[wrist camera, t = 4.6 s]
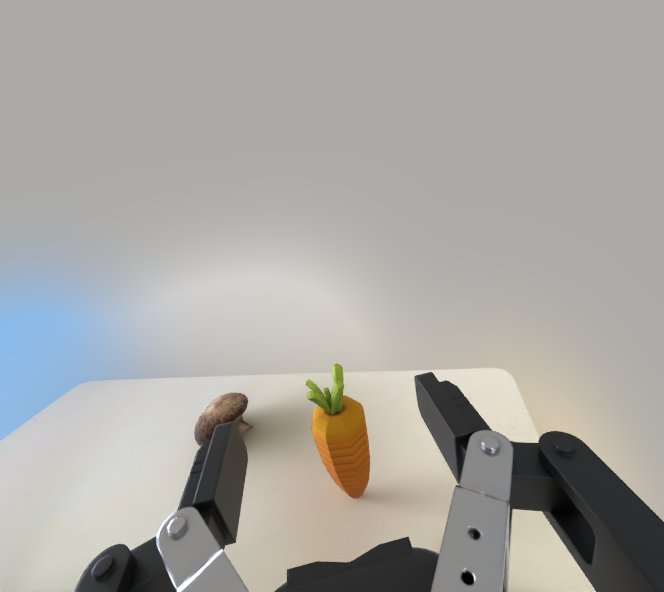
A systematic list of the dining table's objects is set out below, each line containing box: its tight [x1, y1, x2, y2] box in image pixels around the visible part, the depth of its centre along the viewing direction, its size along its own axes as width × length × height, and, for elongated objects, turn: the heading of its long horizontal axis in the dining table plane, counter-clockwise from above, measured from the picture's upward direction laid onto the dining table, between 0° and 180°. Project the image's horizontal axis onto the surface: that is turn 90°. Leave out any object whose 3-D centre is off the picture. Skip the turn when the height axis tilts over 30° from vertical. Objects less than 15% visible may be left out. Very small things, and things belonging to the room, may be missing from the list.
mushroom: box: [194, 393, 253, 446], centre depth 43 cm, size 8×8×6 cm
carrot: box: [305, 364, 370, 498], centre depth 29 cm, size 5×5×15 cm
